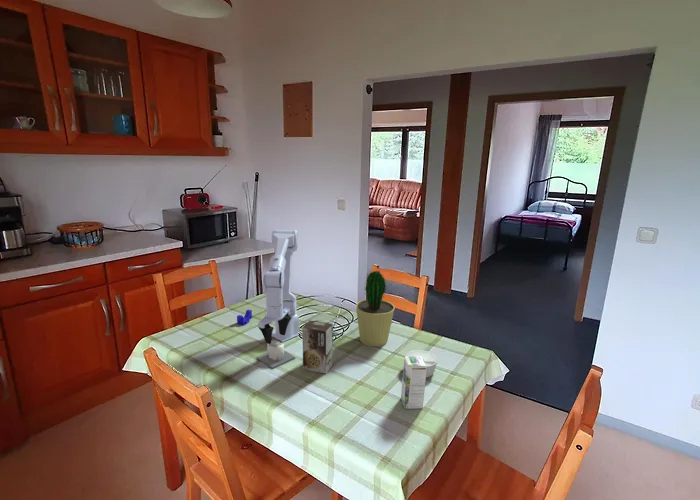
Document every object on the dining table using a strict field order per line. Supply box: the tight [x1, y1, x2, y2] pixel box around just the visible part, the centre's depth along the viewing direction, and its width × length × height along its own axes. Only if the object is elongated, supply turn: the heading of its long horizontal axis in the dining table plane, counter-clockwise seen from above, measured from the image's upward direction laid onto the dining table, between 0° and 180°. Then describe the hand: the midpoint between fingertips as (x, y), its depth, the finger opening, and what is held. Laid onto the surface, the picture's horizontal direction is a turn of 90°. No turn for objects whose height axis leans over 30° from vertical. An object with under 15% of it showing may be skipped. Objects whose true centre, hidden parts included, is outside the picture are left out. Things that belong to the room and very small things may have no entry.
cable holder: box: [236, 309, 253, 326], centre depth 166 cm, size 8×4×4 cm, turn 159°
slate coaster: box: [256, 350, 296, 370], centre depth 137 cm, size 10×10×1 cm
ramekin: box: [404, 349, 438, 379], centre depth 131 cm, size 11×11×5 cm
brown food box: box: [301, 320, 334, 375], centre depth 130 cm, size 9×6×16 cm
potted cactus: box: [355, 270, 396, 347], centre depth 149 cm, size 15×15×30 cm
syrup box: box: [400, 356, 427, 410], centre depth 112 cm, size 6×6×14 cm
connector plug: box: [266, 339, 285, 361], centre depth 136 cm, size 4×7×6 cm, turn 60°
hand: (275, 338), depth 135 cm, fingers open, 7 cm apart
